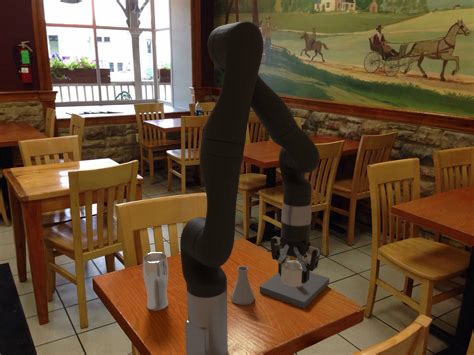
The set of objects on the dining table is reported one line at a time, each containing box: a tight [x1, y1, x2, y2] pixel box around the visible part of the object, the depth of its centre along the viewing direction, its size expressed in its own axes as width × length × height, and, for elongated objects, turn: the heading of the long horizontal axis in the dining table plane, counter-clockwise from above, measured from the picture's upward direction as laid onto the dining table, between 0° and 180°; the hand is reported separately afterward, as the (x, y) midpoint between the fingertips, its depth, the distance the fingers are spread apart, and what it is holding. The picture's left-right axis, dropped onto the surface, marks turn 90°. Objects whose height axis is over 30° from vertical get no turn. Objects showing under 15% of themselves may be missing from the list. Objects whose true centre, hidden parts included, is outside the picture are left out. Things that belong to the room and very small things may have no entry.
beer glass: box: [142, 251, 169, 312], centre depth 116 cm, size 7×7×15 cm
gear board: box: [259, 271, 330, 309], centre depth 126 cm, size 17×15×6 cm
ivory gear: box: [281, 260, 303, 287], centre depth 109 cm, size 6×6×4 cm
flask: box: [230, 265, 256, 306], centre depth 119 cm, size 7×7×10 cm
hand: (293, 278), depth 109 cm, fingers closed on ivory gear, 6 cm apart
